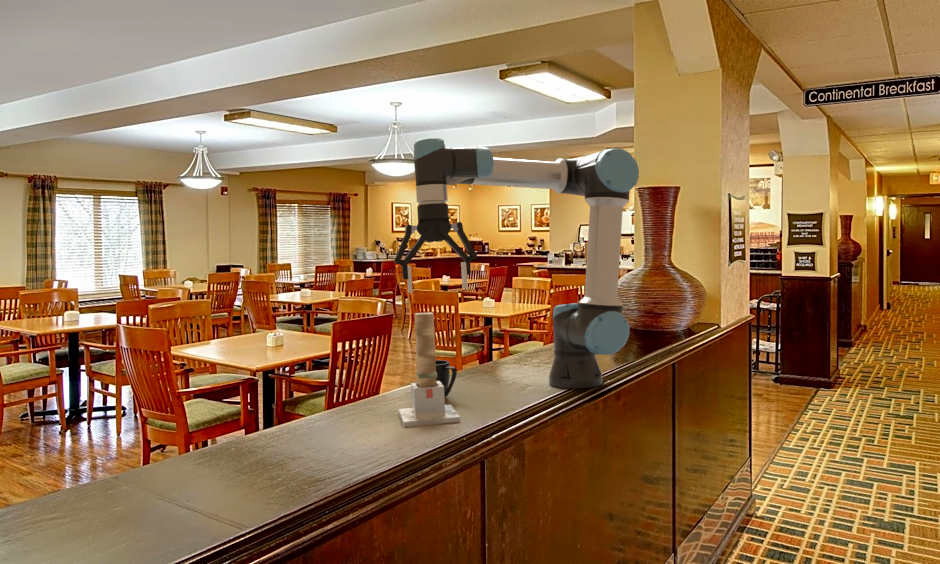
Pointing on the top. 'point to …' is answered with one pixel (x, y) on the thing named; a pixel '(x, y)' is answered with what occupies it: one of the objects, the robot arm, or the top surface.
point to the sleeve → (428, 407)
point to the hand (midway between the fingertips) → (437, 291)
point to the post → (425, 349)
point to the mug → (445, 375)
